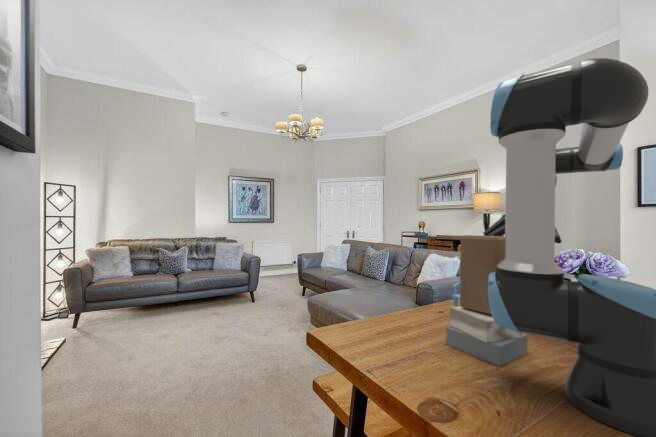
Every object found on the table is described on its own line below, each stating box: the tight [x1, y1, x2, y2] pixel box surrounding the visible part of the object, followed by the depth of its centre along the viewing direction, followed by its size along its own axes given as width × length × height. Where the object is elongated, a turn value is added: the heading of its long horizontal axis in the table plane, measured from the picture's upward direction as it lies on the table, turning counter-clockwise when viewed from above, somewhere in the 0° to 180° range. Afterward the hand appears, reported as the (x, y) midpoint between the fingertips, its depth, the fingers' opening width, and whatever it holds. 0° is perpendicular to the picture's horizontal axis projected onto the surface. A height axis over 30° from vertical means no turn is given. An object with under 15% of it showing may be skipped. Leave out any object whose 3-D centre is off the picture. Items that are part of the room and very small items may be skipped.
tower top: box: [449, 306, 524, 343], centre depth 77 cm, size 12×12×5 cm
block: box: [459, 234, 505, 315], centre depth 79 cm, size 10×10×20 cm
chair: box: [451, 281, 460, 307], centre depth 104 cm, size 8×8×12 cm
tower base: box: [445, 326, 529, 367], centre depth 77 cm, size 14×14×5 cm
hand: (510, 256), depth 84 cm, fingers open, 13 cm apart
